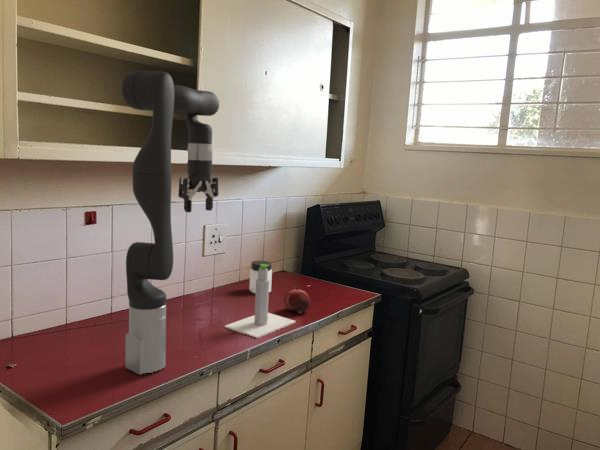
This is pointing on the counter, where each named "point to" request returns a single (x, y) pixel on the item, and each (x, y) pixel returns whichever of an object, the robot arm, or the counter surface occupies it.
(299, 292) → the fruit
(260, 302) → the bottle
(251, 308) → the counter surface
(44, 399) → the counter surface
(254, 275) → the jar
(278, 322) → the tile
